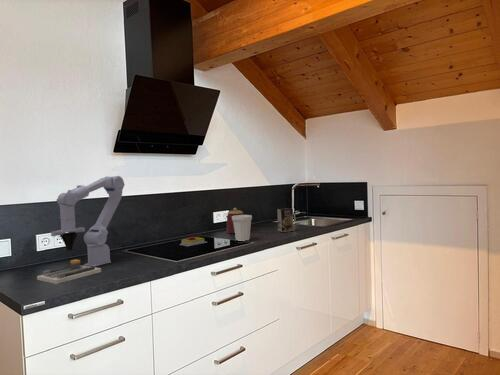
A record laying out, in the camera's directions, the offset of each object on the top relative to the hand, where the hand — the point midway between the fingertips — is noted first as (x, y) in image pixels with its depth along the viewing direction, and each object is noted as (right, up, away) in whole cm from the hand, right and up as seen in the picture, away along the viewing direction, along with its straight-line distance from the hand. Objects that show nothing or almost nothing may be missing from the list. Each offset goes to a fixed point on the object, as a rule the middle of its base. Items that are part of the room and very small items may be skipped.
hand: (69, 249), depth 163 cm
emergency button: (+46, -7, +58) cm, 75 cm away
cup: (+76, -5, +60) cm, 97 cm away
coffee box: (+105, -3, +89) cm, 138 cm away
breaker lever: (+6, -8, -6) cm, 11 cm away
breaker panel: (+4, -10, -8) cm, 13 cm away
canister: (+71, -4, +94) cm, 118 cm away
